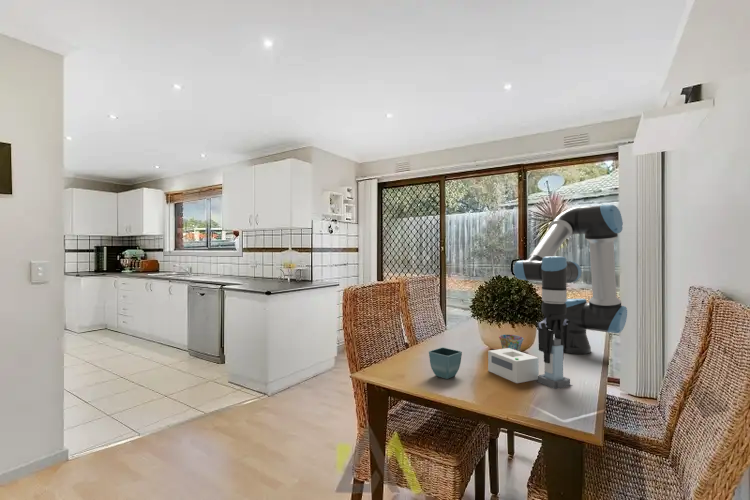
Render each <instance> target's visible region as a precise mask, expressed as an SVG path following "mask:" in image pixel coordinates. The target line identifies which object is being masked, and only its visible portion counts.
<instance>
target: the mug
mask: <svg viewBox="0 0 750 500" xmlns="http://www.w3.org/2000/svg"><path fill="white" fill-rule="evenodd" d="M498 338H499V341H500V344H501V347H502V348H501V349H505V348H511V349H514V350H517V351H520V352H521V347H522V344H523V341H524V339H525V338H524V337H523V336H521V335H516V334H501V335H500V334H499V336H498Z"/></svg>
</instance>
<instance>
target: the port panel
mask: <svg viewBox="0 0 750 500" xmlns="http://www.w3.org/2000/svg"><path fill="white" fill-rule="evenodd" d="M487 355H488V356H487V357H488V358H487V361H488V362H487V363H488V367H487V369H488V370H487V371H488V372H489V373H493V374H494V375H497V376H499V377H501V378H504V379H506V380H508V381H511V382H513V383H515V384H520V383H525V382H531V381H538V376H539V375H540V374H539V366H540V364H539V362H540V361H539V359H540V358H539V357H537V356H535V355H532V354H528V353H525V352H522V351H521V350H520V351H517V350H514V349H511V348H505V349H502V348H498V349H491V350H488V351H487Z"/></svg>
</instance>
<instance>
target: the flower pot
mask: <svg viewBox="0 0 750 500" xmlns="http://www.w3.org/2000/svg"><path fill="white" fill-rule="evenodd" d="M428 354H429V355H428V358H429V365H430V367H431V370H432V372H433V374H434V376H436V377H439V378H442V379H445V380H448V379H451V378H454V377H455V376H456V375H457V373H458V372H459V369H460V367H461V362H462V355H463V351H460V350H456V349H451V348H447V347H439V348H435V349H432V350H429V351H428Z"/></svg>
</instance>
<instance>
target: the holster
mask: <svg viewBox="0 0 750 500" xmlns="http://www.w3.org/2000/svg"><path fill="white" fill-rule="evenodd" d="M535 382H537V383H539V384H541V385H543V386H547V387H549V388H551V389H554V390H558V389H564V388H568V387H573V384H571V378H569V377H566V376H563V380H558V381H553V380H550V379H548V378H545V373H543V374H538V379H537V380H535Z"/></svg>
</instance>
